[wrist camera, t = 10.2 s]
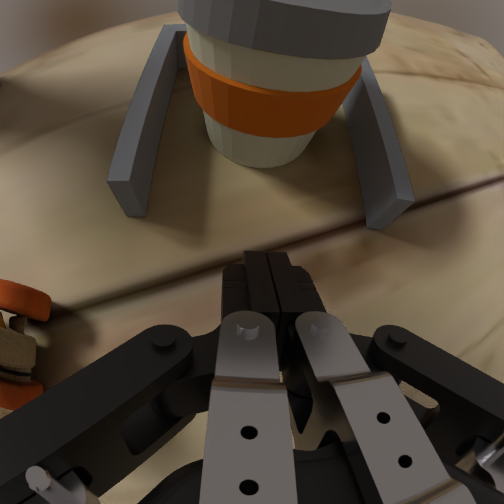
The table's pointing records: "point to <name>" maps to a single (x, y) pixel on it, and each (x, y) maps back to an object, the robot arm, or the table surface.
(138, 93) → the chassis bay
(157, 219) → the table surface
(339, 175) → the table surface
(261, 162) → the reusable coffee cup
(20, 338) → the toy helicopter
